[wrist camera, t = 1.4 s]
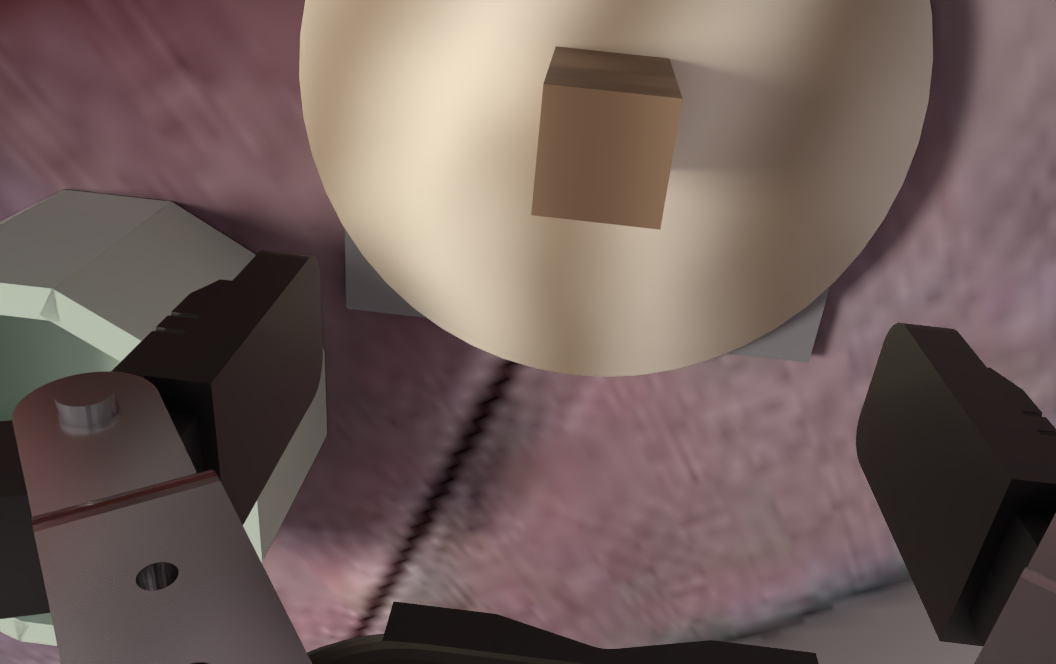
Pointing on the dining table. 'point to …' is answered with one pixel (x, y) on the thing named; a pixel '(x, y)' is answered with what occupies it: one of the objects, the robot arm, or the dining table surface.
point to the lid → (613, 162)
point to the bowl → (118, 317)
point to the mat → (779, 343)
